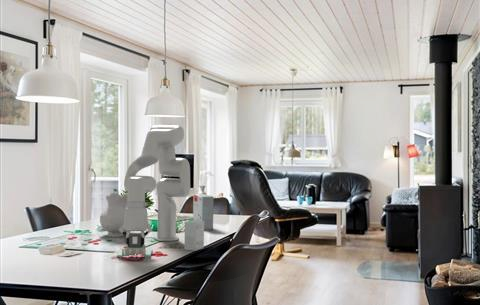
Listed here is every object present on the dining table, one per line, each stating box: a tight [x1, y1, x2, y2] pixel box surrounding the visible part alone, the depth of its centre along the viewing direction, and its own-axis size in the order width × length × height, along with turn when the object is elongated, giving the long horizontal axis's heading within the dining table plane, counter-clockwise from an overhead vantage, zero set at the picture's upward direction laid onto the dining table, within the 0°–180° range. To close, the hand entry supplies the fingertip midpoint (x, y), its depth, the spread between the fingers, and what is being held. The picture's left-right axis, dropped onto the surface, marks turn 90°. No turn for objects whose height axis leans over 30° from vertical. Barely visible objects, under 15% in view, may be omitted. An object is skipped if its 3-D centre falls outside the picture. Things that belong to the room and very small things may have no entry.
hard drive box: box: [192, 193, 214, 231], centre depth 308 cm, size 16×8×20 cm, turn 25°
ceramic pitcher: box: [99, 188, 128, 238], centre depth 277 cm, size 22×20×25 cm
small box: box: [184, 219, 205, 252], centre depth 242 cm, size 8×6×13 cm
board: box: [116, 244, 153, 259], centre depth 225 cm, size 14×14×4 cm
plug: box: [129, 232, 142, 248], centre depth 225 cm, size 5×5×7 cm
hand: (135, 246), depth 225 cm, fingers closed on plug, 4 cm apart
